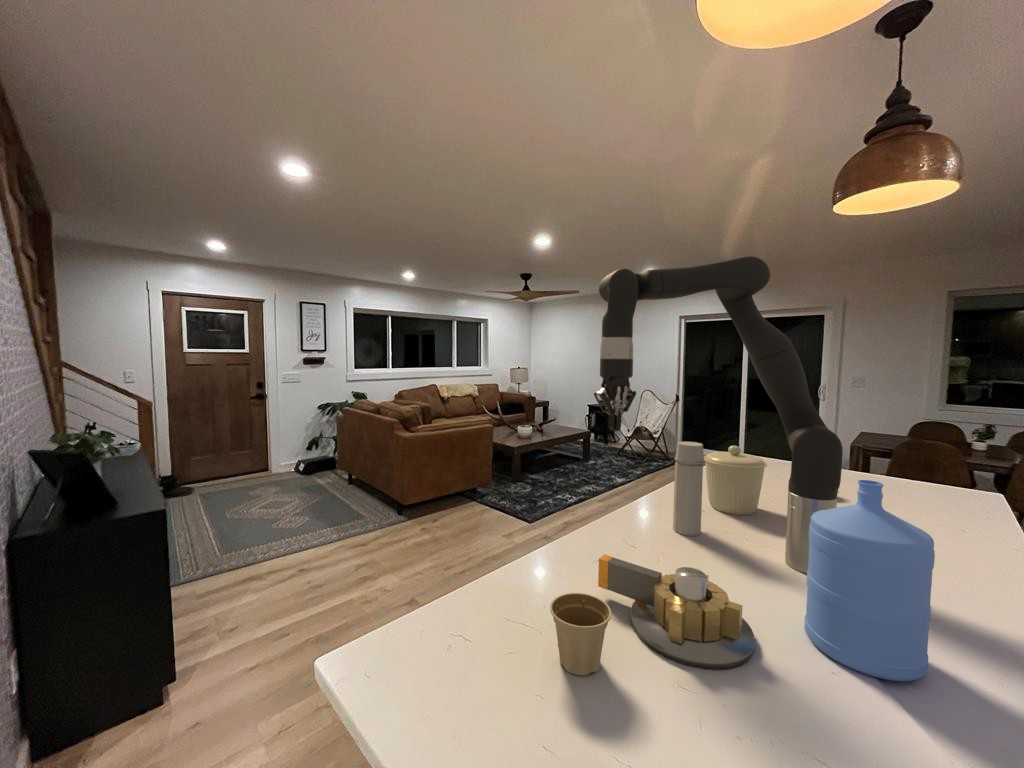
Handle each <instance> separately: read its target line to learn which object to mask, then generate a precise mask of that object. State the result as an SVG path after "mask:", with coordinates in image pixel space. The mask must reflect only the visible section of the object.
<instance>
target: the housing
mask: <svg viewBox="0 0 1024 768" xmlns="http://www.w3.org/2000/svg"><path fill="white" fill-rule="evenodd" d="M675 574H676V582H675V596H677V597H679V598H681V599H683V600H686V601H691V602H697V603H701V602H706V582H707V576H706V575H707V574H706V573H705V572H703V571H702V570H700V569H698V568H693V567H689V566H688V567H687V566H682V567H678V568H676V570H675ZM630 607H631V608H630V623H631V624H630V625H631V627H632V630H633V631H634V633H635V635H636V636H637V638H638V639H640V641H642V643H644V644H645V645H646V646H647V647H648V648H650V649H651V650H652V651H654V652H655V653H657V654H659V655H660V656H663V657H664V658H666V659H668V660H669V661H670V660H671V661H672V662H675V663H678V664H681V665H684V666H687V667H692V668H695V669H701V670H709V671H727V670H732V669H736V668H740V667H742V666H743V665H745V664H747V663H748V662H749V661H750V660H751V659H752V658H753V655H754V653H755V642H756V641H755V634H754V631H753V629H752V628H751V626H750V624H749V623H748V622H747V620H745V619H744V618H743V617H742V629H741V636H740V639H739V640H736V639H733V638H731V637H728V636H724V637H723V638H722V639H721V638H719V640H713V641H705V642H704V641H703V640H702V639H701V641H697V640H692V639H687V638H685V639H684V640H683V642H682V644H679V643H677V642H674V641H672V640H670V639H669V631H668V630H666V629H665V627H662V626H661V624H660V623H659V622H658V621H657V620H656V619H655V616H654V607H653V606H650V605H647V604H645V603H642V602H639V601H637V600H634V601H633V603H632V605H631V606H630Z"/></svg>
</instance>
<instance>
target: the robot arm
mask: <svg viewBox="0 0 1024 768" xmlns="http://www.w3.org/2000/svg"><path fill="white" fill-rule="evenodd" d="M770 278H771V270H770V267H769V266H768V264H767V263H766V261H764V260H763V259H761V258H759V257H757V256H753V255H752V256H741V257H738V258H734V259H729V260H725V261H720V262H715V263H708V264H702V265H695V266H685V267H672V268H671V267H668V268H655V269H654V268H653V269H647V270H645V271H641V272H637V273H634V271H633V270H631V269H629V268H619V269H616V270H614V271H612V272H611V273H609V274H606V276H605V277H604V278H602V280H601V281H600V282H599V285H598V293H599V295H600V297H601V299H602V300H604V301H605V302H607V310H606V313H605V314H604V315H603V317H602V320H601V321H602V323H601V342H600V351H599V353H600V355H599V376H600V377H601V378H602V382H601V385H600V386H601V388H600V389H599V391H594V392H593V396H594V398H595V400H596V402H597V403H598V404H597V405H599V407H600V409H601V412H602V413H606V414H607V415H608V430H609V431H611V432H619V431H621V429H622V416H623V415H624V413H627V412H628V411H629V409H630V407H631V406H632V403H633V401H634V399H635V397H636V395H637V391H636V390H632V388H631V383H630V378H632V377H633V376H634V374H633V373H634V342H633V340H634V339H633V335H634V333H633V332H634V328H633V327H634V326H633V325H634V324H633V323H634V322H633V321H634V320H633V319H634V315H635V312H636V306H637V302H638V301H644V300H651V301H653V300H655V301H656V300H668V299H669V300H670V299H671V300H672V299H677V298H683V297H687V296H690V295H694V294H699V293H702V292H707V291H714V290H715V293H716V295H717V297H718V299H719V300H720V303H721V305H722V306H723V308H724V310H725V311H726V313H727V315H728V316H729V318H730V319H731V321H732V323H733V325H734V326H735V328H736V331H737V332H738V335H739V336H740V340H741V341H742V343H743V345H744V347H745V350H746V351H747V353H748V356H749V358H750V361H751V364H752V366H753V367H754V370H755V373H756V375H757V377H758V380H759V381H760V382H761V385H762V387H763V389H765V392H766V393H767V395H768V397H769V398H770V400H771V401H772V403H773V404H774V406H775V408H776V410H777V412H778V414H779V416H780V419H781V423H782V425H783V428H784V432H785V435H786V439H787V442H788V443H787V444H788V446H789V449H790V450H791V465H790V466H791V467H790V468H791V469H790V476H789V479H788V484H787V485H788V489H787V490H788V491H787V492H788V493H787V512H786V514H787V515H786V530H785V531H786V534H785V535H786V536H785V537H786V538H785V553H784V554H785V555H784V556H785V558H784V562H785V564H786V565H787V566H788V567H790V568H791V569H793V570H796V571H798V572H800V573H803V574H806V575H807V571H808V564H809V544H810V540H809V527H810V523H811V516H812V515H813V514H814V513H815V512H817V511H821V510H826V509H832V508H838V507H837V506H838V505H837V504H838V491H839V490H840V487H841V481H842V479H841V478H842V469H843V468H842V467H843V444H842V442H841V441H842V440H841V439H840V438H839V436H838V435H837V434H836V433H834V431H832V430H830V429H829V428H828V427H827V425H826V424H825V422H824V420H823V419H822V417H821V416H820V414H819V412H818V411H817V409H816V407H815V405H814V403H813V400H812V397H811V395H810V390H809V386H808V381H807V377H806V373H805V370H804V367H803V365H802V362H801V359H800V356H799V355H798V353H797V350H796V348H795V347H794V344H793V343H792V341H791V339H790V338H789V337H788V336H787V335H786V334H785V333H784V332H782V331H781V330H780V329H778V327H775V326H774V325H773V324H772V323H770V322H769V321H768V320H767V319H766V318H765V317H764V316H763V315H762V313H761V312H760V311H759V309H758V307H757V305H756V303H755V301H754V298H753V296H754V295H756V294H757V293H759V292H761V291H762V290H763V289H764V288H765V287H766V285H767V284H768V283H769V282H770Z"/></svg>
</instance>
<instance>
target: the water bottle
mask: <svg viewBox="0 0 1024 768" xmlns="http://www.w3.org/2000/svg"><path fill="white" fill-rule="evenodd" d="M675 450H676V451H675V457H674V460H675V462H674V481H673V482H674V486H673V487H674V488H673V520H672V521H673V522H672V524H673V525H672V529H673V530H674V531H676V532H675V533H677V534H680V535H681V534H682V536H686V537H695V536H696V537H697V536H699V535H700V534H701V532H702V505H703V503H702V502H703V475H704V474H703V473H704V465H705V460H704V456H705V454H704V444H703V443H702V442H697V441H678V442H677V445H676V449H675Z"/></svg>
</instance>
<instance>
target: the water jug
mask: <svg viewBox="0 0 1024 768" xmlns="http://www.w3.org/2000/svg"><path fill="white" fill-rule="evenodd" d="M857 483H858V489H857V492H856V493H857V494H856V495H857V501H856V503H854V504H852V505H851V504H850V505H845V506H840V507H837V508H832V509H826V510H821V511H817V512H815V513H814V514H813V515H812V516H811V523H810V527H809V540H810V544H809V564H808V571H807V574H806V586H807V590H806V609H805V610H806V612H805V615H804V632H805V634H806V635H807V638H809V640H810V641H811V643H812V644H814V646H816V648H818V649H819V650H820V651H821V652H822V653H824V654H825V655H826V656H828V657H829V658H830V659H832V660H834V661H836V662H837V663H838V664H842V665H843V666H845V667H847V668H849V669H852V670H854V671H857V672H860V673H862V674H865V675H867V676H871V677H874V678H879V679H883V680H888V681H893V682H894V681H896V682H909V681H910V682H912V681H915V680H919V679H921V678H922V677H924V676H925V675H926V674H927V672H928V668H929V655H928V648H929V630H930V623H931V611H932V610H931V607H932V606H931V600H932V599H931V598H932V594H931V593H932V586H933V583H932V582H933V570H934V568H935V567H934V566H935V559H936V555H935V554H936V553H935V552H936V551H935V540H934V539H933V537H932V536H931V535H930V533H927V531H925V530H923V529H921V528H919V527H917V526H916V525H914V524H912V523H910V522H908V521H906V520H904V519H902V518H900V517H899V516H897V515H894V514H893V513H891V512H889V511H886V509H884V508H883V507H884V506H883V499H884V494H883V487H884V484H883V483H882V482H879V481H875V480H868V479H859V480H858V481H857Z"/></svg>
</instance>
